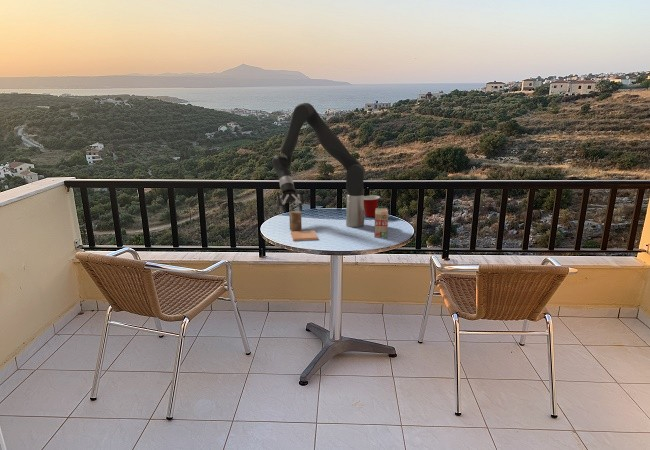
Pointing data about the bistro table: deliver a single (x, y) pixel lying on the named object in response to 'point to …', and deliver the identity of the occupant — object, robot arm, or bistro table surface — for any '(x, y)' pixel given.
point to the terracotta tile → (304, 235)
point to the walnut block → (295, 221)
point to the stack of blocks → (381, 222)
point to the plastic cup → (370, 205)
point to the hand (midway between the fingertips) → (292, 211)
